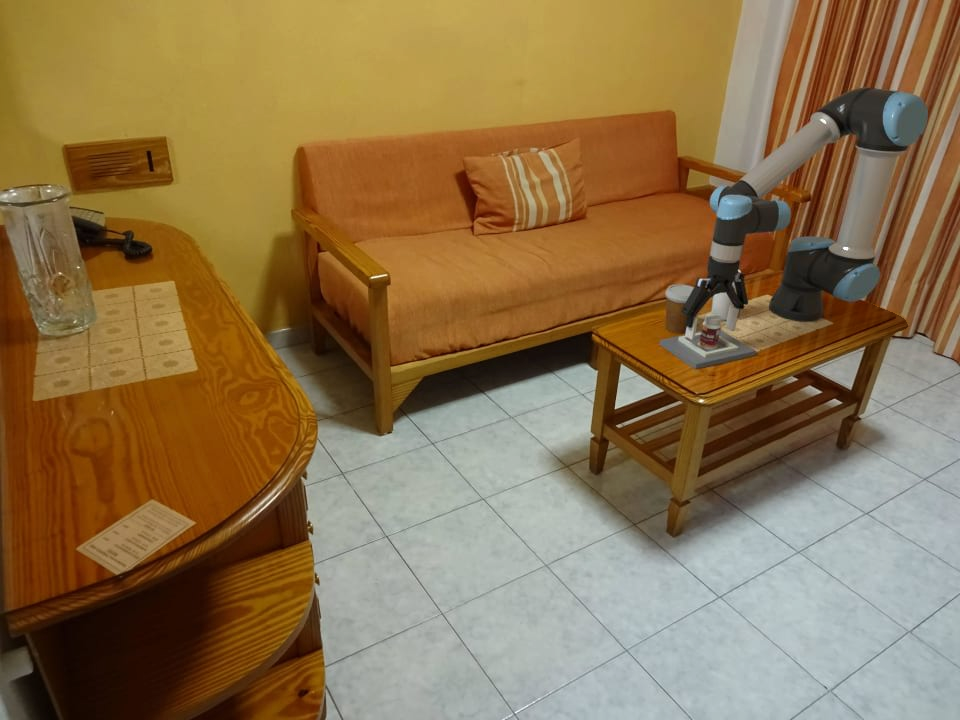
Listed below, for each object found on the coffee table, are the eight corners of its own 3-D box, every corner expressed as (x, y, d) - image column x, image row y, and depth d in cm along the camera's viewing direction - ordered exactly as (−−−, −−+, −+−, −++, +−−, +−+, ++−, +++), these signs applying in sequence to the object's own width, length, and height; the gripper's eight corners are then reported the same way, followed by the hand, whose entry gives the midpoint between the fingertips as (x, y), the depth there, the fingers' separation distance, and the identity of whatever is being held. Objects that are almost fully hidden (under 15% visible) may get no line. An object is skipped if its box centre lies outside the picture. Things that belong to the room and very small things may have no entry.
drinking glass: (734, 322, 200) (744, 274, 193) (711, 322, 200) (720, 274, 193) (727, 313, 206) (737, 266, 199) (705, 312, 206) (714, 266, 199)
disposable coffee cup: (669, 319, 202) (675, 281, 196) (699, 328, 196) (706, 289, 191) (653, 329, 195) (659, 290, 189) (684, 339, 190) (692, 299, 184)
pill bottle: (695, 345, 183) (701, 316, 179) (703, 339, 186) (708, 311, 182) (712, 350, 180) (718, 322, 176) (720, 344, 183) (725, 316, 180)
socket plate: (716, 332, 194) (718, 325, 193) (755, 355, 182) (757, 347, 180) (659, 344, 186) (660, 336, 185) (695, 369, 174) (697, 360, 173)
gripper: (751, 247, 179) (736, 320, 189) (675, 259, 170) (663, 335, 180) (773, 256, 173) (755, 331, 183) (695, 269, 164) (681, 347, 174)
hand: (709, 333), depth 182 cm, fingers open, 13 cm apart
